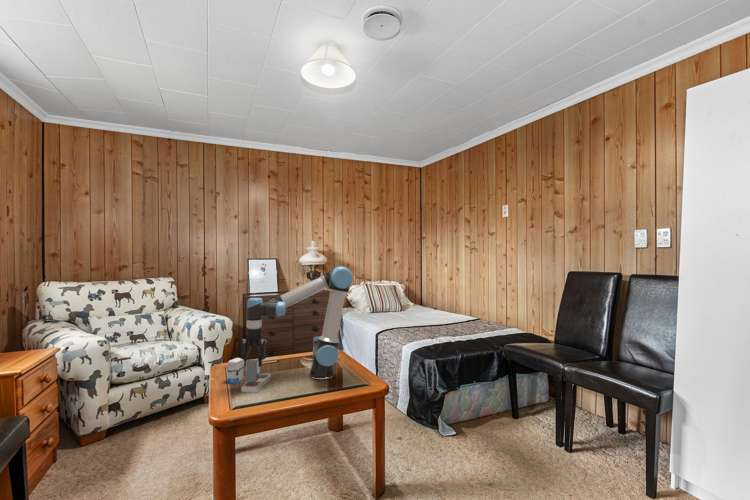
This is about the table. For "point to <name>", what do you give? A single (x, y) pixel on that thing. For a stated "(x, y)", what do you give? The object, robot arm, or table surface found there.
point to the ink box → (235, 370)
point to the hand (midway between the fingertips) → (252, 372)
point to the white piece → (256, 383)
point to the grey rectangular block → (251, 371)
